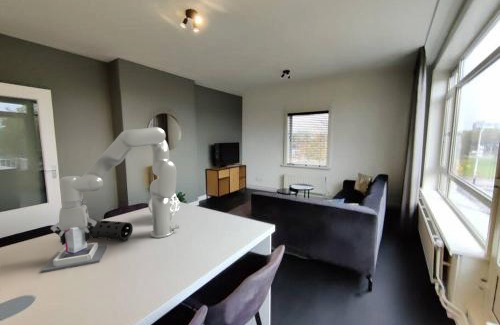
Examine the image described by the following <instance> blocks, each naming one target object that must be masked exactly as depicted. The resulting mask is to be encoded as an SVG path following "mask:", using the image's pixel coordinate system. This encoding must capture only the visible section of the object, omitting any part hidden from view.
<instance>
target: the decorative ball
mask: <svg viewBox="0 0 500 325" xmlns="http://www.w3.org/2000/svg"><path fill="white" fill-rule="evenodd" d="M169 199H170V215H171V218H172V217H173V216H174V215H175V214H176V213H177V212H178V211H179V209H180V207H181V201H180V200H179V198H178V197H177V195H176V192H175V193H174V195H173V196H172V197H171V198H169ZM147 207H148V209H149V212H150V213H151V214H152V200H151V198H150V199H149V201H148V206H147Z"/></svg>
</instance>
